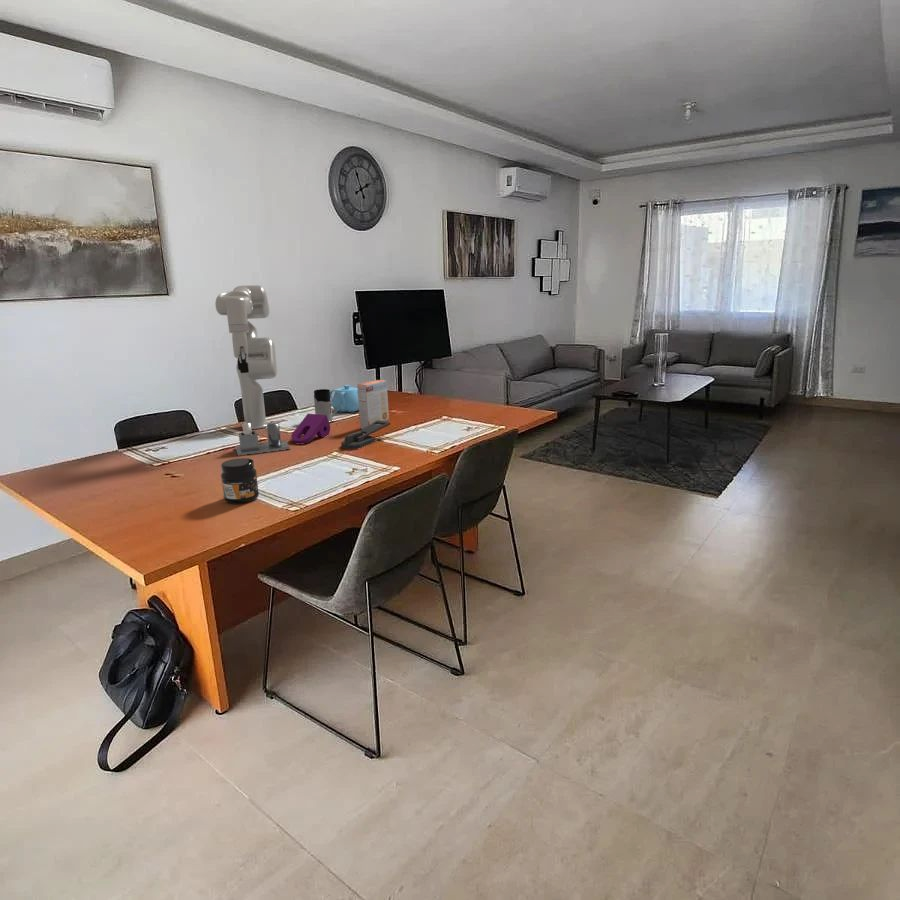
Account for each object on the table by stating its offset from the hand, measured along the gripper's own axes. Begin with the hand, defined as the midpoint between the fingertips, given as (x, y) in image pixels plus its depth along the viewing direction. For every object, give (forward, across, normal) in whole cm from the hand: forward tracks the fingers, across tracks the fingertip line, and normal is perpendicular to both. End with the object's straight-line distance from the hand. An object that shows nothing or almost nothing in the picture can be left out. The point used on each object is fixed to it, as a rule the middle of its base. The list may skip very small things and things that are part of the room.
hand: (243, 371), depth 244 cm
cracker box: (+31, -3, +55) cm, 63 cm away
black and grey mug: (+31, -25, +39) cm, 55 cm away
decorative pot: (+31, -44, +53) cm, 75 cm away
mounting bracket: (+31, +6, +23) cm, 39 cm away
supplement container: (+31, +70, -10) cm, 77 cm away
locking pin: (+29, +12, -2) cm, 32 cm away
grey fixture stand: (+30, +13, +3) cm, 33 cm away
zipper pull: (+31, +21, +44) cm, 58 cm away
